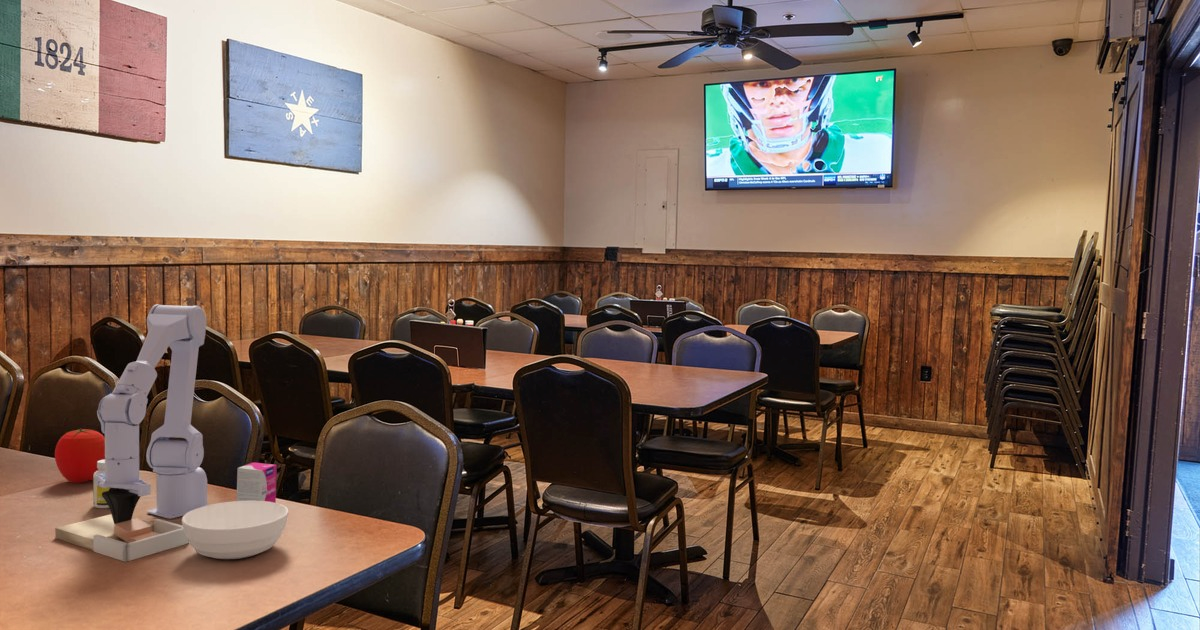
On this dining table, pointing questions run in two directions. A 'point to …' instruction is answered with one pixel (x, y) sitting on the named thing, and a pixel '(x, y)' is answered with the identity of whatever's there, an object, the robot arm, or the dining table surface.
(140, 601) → the dining table surface
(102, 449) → the tomato
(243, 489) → the supplement box
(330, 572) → the dining table surface
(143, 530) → the tile
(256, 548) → the bowl
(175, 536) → the tray
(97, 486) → the supplement bottle
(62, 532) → the plate
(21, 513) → the dining table surface
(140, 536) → the tile
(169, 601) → the dining table surface
